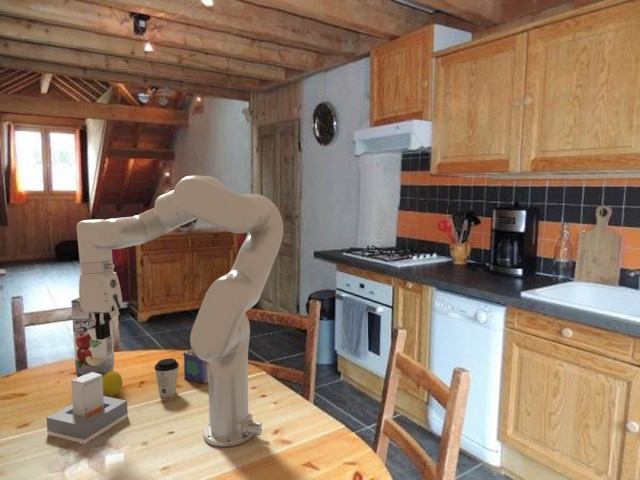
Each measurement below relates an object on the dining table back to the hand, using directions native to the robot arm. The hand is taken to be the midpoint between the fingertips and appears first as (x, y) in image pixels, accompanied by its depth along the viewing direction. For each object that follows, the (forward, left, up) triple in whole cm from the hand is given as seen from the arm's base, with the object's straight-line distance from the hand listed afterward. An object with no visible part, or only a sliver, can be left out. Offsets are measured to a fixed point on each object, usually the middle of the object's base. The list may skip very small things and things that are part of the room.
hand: (103, 337), depth 119 cm
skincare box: (+2, +4, -21) cm, 22 cm away
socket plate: (+2, +4, -22) cm, 23 cm away
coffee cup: (-5, -18, -22) cm, 29 cm away
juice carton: (+27, -22, -22) cm, 41 cm away
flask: (-7, -29, -22) cm, 37 cm away
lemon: (+9, -11, -22) cm, 26 cm away
